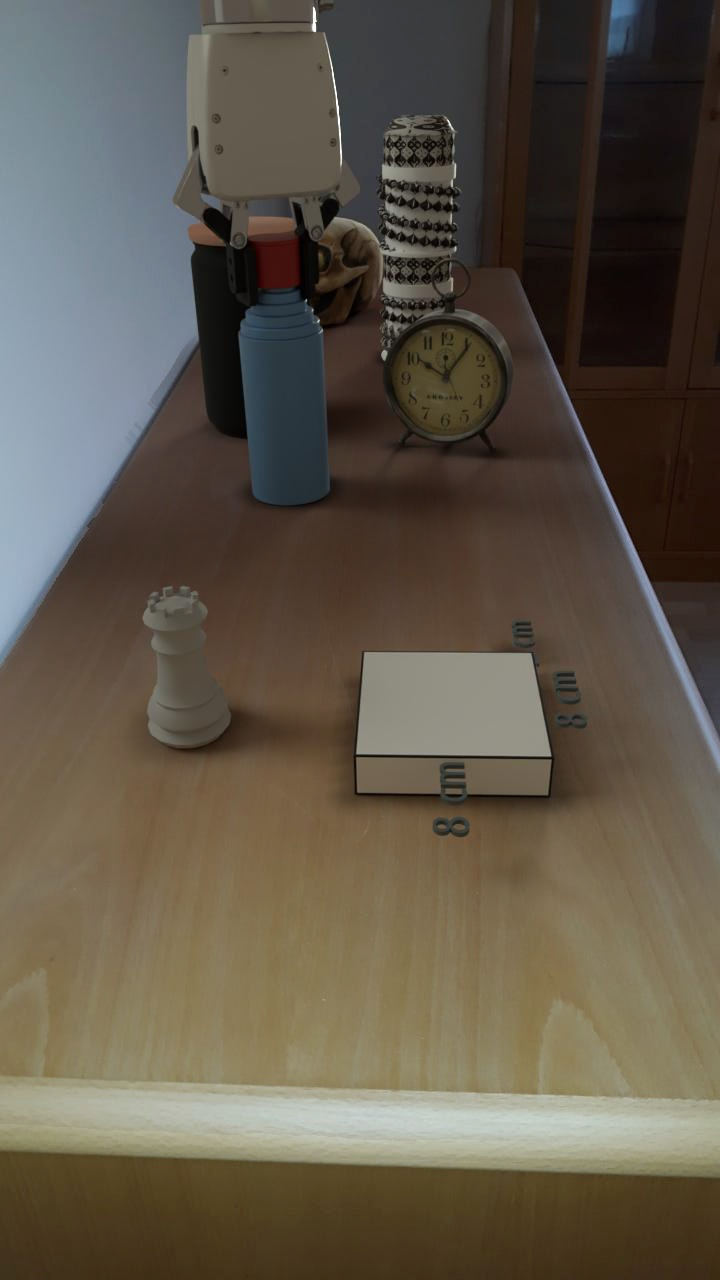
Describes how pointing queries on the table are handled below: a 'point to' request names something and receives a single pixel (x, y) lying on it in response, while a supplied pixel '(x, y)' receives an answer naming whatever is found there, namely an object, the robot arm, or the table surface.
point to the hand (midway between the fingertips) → (275, 296)
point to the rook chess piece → (183, 673)
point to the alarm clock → (448, 373)
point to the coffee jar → (223, 323)
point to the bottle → (285, 398)
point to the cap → (276, 260)
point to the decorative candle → (416, 219)
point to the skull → (346, 271)
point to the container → (456, 725)
